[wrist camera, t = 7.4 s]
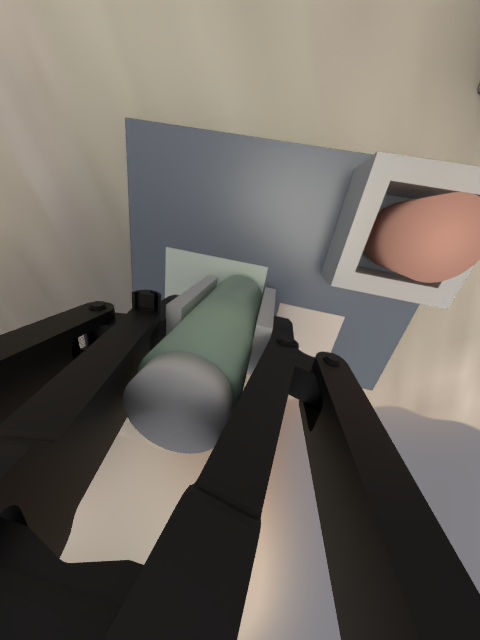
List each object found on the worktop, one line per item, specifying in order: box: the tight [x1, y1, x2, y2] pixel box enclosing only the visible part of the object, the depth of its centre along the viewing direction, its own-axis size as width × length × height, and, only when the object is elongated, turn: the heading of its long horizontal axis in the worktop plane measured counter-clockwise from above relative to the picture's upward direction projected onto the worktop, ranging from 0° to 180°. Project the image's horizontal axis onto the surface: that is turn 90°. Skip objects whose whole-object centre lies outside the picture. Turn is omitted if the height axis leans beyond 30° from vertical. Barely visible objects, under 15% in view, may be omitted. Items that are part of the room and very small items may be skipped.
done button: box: [364, 192, 480, 283], centre depth 11 cm, size 4×4×4 cm
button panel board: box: [125, 118, 480, 390], centre depth 15 cm, size 22×16×4 cm
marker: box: [123, 275, 263, 453], centre depth 12 cm, size 4×4×12 cm
